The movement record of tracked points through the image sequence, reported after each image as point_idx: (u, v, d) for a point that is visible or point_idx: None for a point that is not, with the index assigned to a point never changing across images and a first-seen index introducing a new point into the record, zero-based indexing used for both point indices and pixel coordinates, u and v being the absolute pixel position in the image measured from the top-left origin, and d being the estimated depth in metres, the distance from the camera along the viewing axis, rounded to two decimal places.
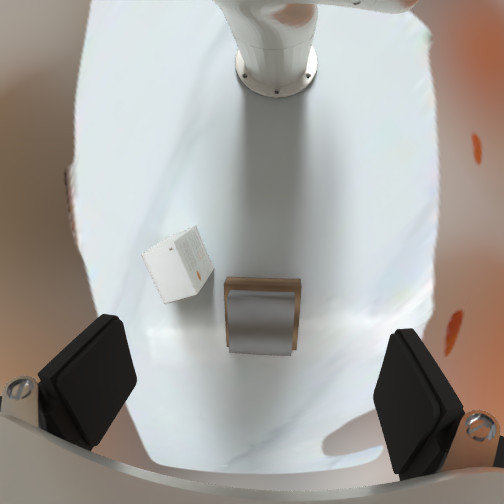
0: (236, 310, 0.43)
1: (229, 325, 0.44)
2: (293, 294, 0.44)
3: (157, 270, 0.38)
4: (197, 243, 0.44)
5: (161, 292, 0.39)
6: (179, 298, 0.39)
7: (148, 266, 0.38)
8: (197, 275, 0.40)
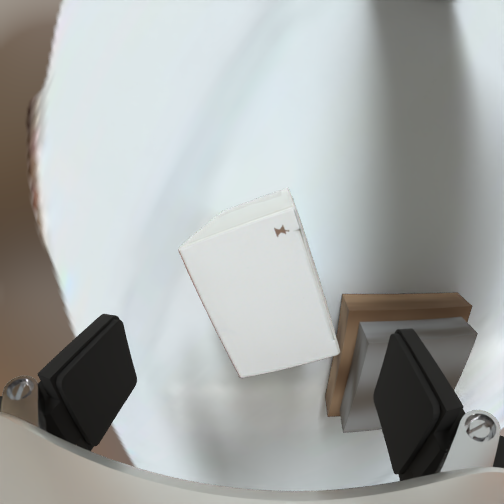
0: (380, 365, 0.18)
1: (358, 392, 0.19)
2: (465, 321, 0.19)
3: (229, 295, 0.13)
4: None
5: (235, 353, 0.14)
6: (286, 366, 0.14)
7: (199, 283, 0.13)
8: None
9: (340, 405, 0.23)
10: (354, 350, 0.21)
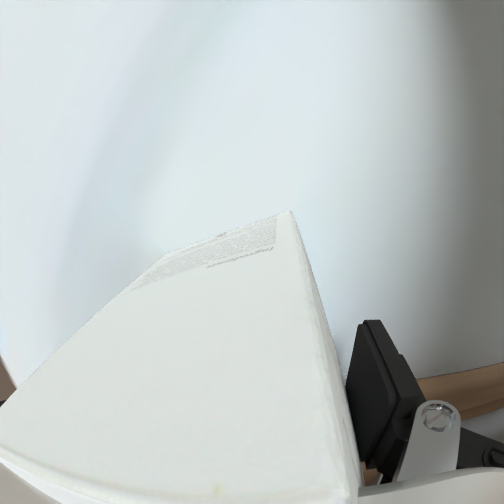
0: None
1: None
2: None
3: None
4: None
5: None
6: None
7: None
8: None
9: None
10: None
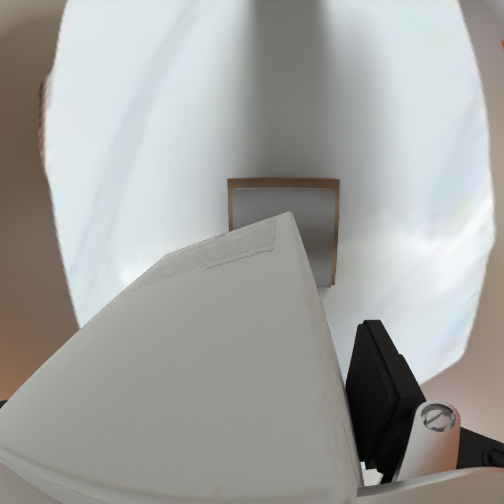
0: (246, 210, 0.28)
1: None
2: None
3: None
4: (319, 298, 0.09)
5: None
6: None
7: None
8: (363, 486, 0.05)
9: None
10: None
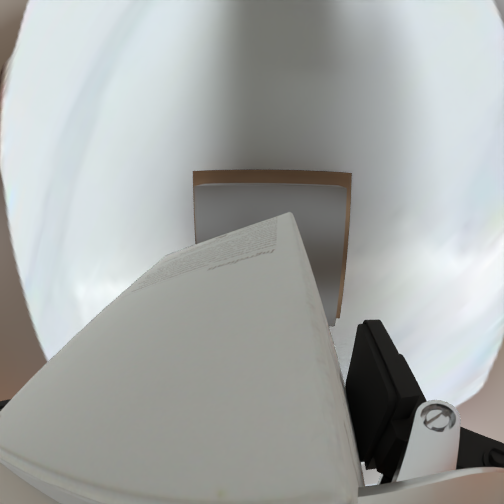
0: (214, 217, 0.19)
1: None
2: None
3: None
4: (320, 299, 0.09)
5: None
6: None
7: None
8: None
9: None
10: None
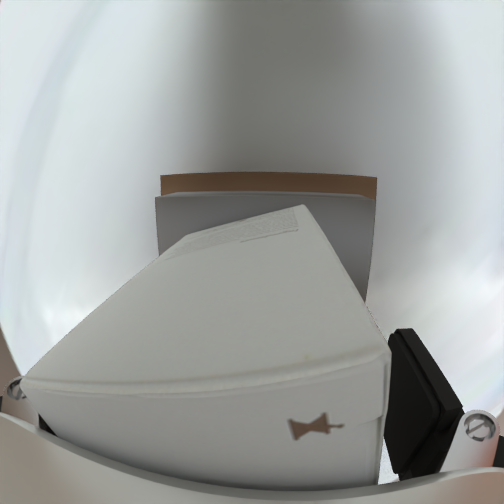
0: None
1: None
2: (361, 195, 0.14)
3: None
4: None
5: None
6: None
7: None
8: None
9: None
10: None
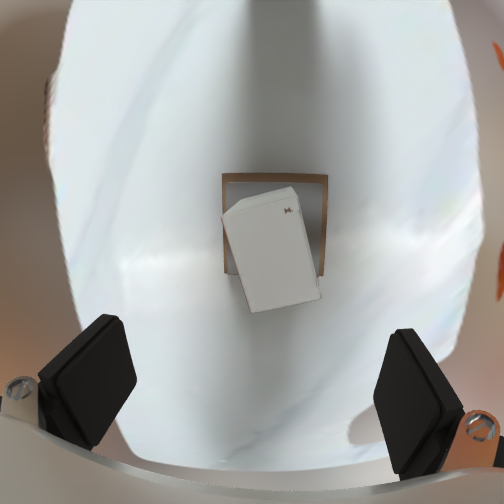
0: None
1: None
2: (319, 183, 0.31)
3: (251, 249, 0.20)
4: None
5: (250, 292, 0.21)
6: (284, 305, 0.21)
7: (232, 241, 0.20)
8: None
9: None
10: None
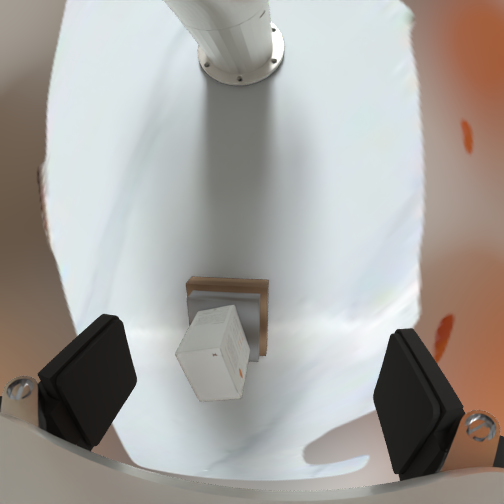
0: None
1: None
2: (258, 296, 0.40)
3: (195, 372, 0.30)
4: (237, 329, 0.37)
5: (197, 392, 0.31)
6: (218, 399, 0.31)
7: (183, 366, 0.30)
8: (240, 373, 0.33)
9: None
10: None
